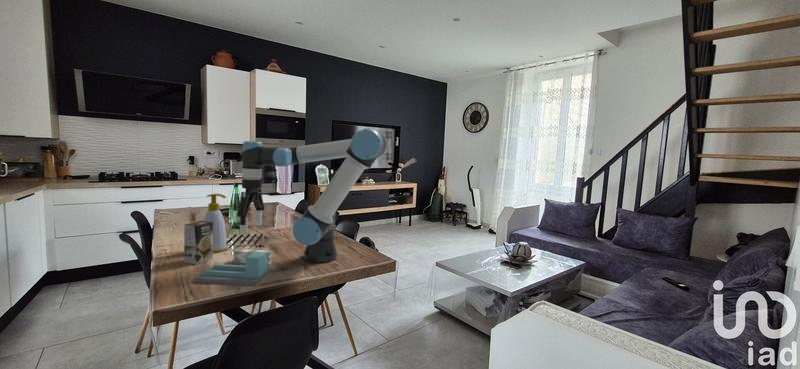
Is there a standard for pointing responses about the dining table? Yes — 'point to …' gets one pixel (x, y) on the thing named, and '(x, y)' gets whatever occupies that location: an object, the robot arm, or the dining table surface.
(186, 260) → the coffee box
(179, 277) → the dining table surface
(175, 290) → the dining table surface
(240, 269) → the light blue stand
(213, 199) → the soap bottle
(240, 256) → the clear long block
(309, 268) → the dining table surface
